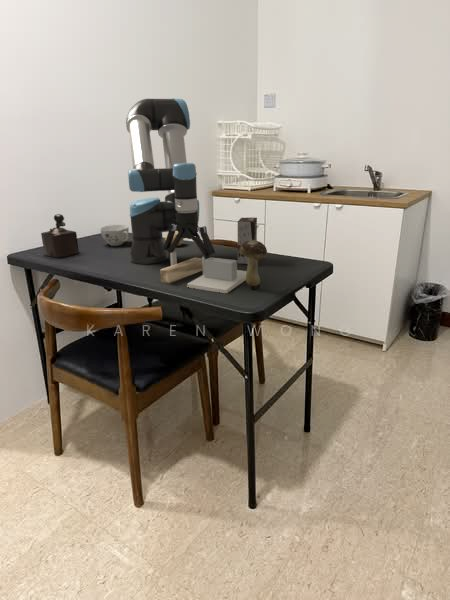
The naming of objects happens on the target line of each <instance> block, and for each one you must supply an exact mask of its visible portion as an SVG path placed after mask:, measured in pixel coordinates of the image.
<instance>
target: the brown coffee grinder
mask: <svg viewBox="0 0 450 600" xmlns="http://www.w3.org/2000/svg"><path fill="white" fill-rule="evenodd" d="M53 219H54V221H55V227H52V228H50V229H49V231H45V232H41V233H40V236H41V240H42V247H43V253H44V254H43V255H45V256H48V257H51V258H57V259H58V258H59V259H60V258H64V257H69V256H73V255H78V254H79V253H80V251H79V244H78V236H77V235H78V234H77V231H73V230H69V229H66V228H64V227H65V226H66V222H64V220H65V217H64V215H63V214H60V213H57V214H54V215H53Z"/></svg>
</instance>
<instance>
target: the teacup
mask: <svg viewBox="0 0 450 600" xmlns="http://www.w3.org/2000/svg"><path fill="white" fill-rule="evenodd" d="M99 230H100V234H101V236H102V239H104V241H105V242H106V243H108V244H109V246H111V247H117V246H118V247H119V246H121V245H123V244H124V243H125V242H126V241H128V240H129V237H130V236H129V231H130V230H129V225H127V224H110V225H105V226H102V227H101V228H99Z"/></svg>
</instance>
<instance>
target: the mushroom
mask: <svg viewBox="0 0 450 600" xmlns="http://www.w3.org/2000/svg"><path fill="white" fill-rule="evenodd" d="M240 251H241V253H242V254H243V255H245V256H247V257H248V264H247V267H246V271H247V272H246V280H245V281H246V285H248V286H249V287H250V288H251V289H252V290H257V289H259V287H261V278H260V275H259V272H258V265H259V261H261V260H264V259H265V258H266V257H267V255H268V250H267V247H266V245H264V243H262V242H261V241H259V240H257V241H256V240H249V241H246V242H244V243H243V244H241V246H240Z"/></svg>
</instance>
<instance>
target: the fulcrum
mask: <svg viewBox="0 0 450 600" xmlns="http://www.w3.org/2000/svg"><path fill="white" fill-rule="evenodd" d="M204 266H205V274H204V275H203V274H202V275H200V276H199V277H197V278H195V279H193V280H191V281H190V282H188V283H187V284H186V285H187V286H186V287H187V288H188V287H189V289H194V288H195V290H200V291H201V290H202V291H207V292H213V293H219V292H220V293H221V294H225V293H226V294H229V292H231V291H232V290H233V289H235V288H236V287H238V286H240V284H242V283H243V282H245V281H246V272H247V270H240V269H238V259H237V260H235V259H229V258H221V257H220V258H219V257H211V256H210V258H208V259H206V260H204Z"/></svg>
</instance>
